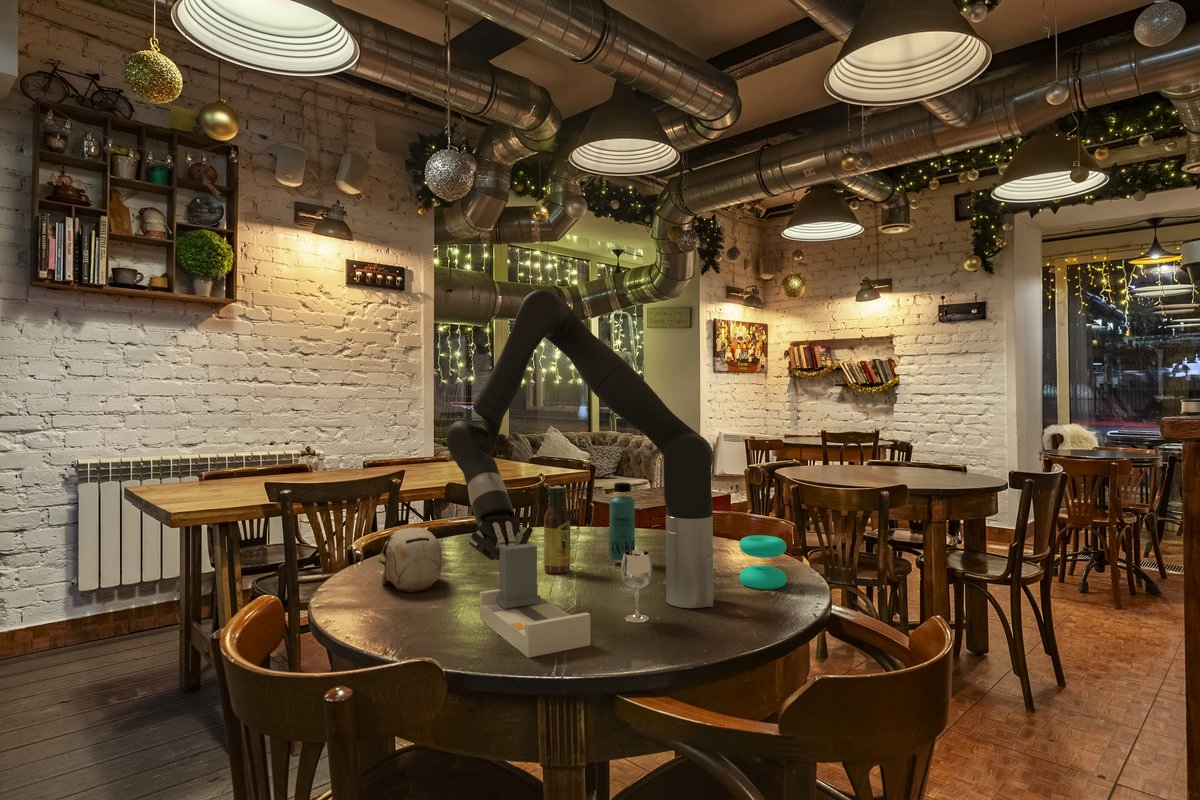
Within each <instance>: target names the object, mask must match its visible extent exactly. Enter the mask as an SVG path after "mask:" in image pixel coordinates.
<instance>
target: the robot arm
mask: <svg viewBox="0 0 1200 800" xmlns="http://www.w3.org/2000/svg"><path fill="white" fill-rule="evenodd" d="M569 305H570V304H568V303H567V302H566V300H565V299H564V298H563V297H561V296H559V295H557V294H555V293H553V292H551V291H549V290H546V289H536V290H533V291H532V292H530V293H528V294H527V295H526V296H525V297H524V298H523V300H522V302H521V304H520V307H519V309H518V311H517V314H516V317H515V319H514V321H513V324H512V327H511V330H510V333H509V334H508V337H507V339H506V341H505V344H504V345H503V348H502V351H501V353H500V355H499V357H498V359H497V361H496V363H495V364H494V367H493V368H492V370H491V372H490V374H489V376H488V377H487V379H486V381H485V382H484V384H483V386H482V388H481V390H480V391H479V393H478V394H477V397H476V398H475V400H474V402H473V404H472V409H473V411H474V413H476V415H478V416H480V417H481V418H482V420H481V423H480V425H478V424H475V423H473V422H469V421H467V420H466V421H465V420H458V421H455V422H453V423H452V424H451V425H450V426H449V428H448V429H447V432H446V438H445V441H446V447H447V450H448V451H449V454H450V456H451V457H452V458H453V461H454V462H455V463H456V465H457V467H458V468H459V469H460V470H461V472H462V473H463V477H464V480H465V483H466V487H467V492H468V498H469V504H470V506H471V508H472V512H473V516H474V519H475V522H476V525H477V529H476V532H472V534H471V536H470V539H469V541H468V543H469V545H470V546H471V547H473V548H474V549H475V550H477V551H478V552H479V553H480V554H482V555H483V556H484V557H486V558H487V559H489V560H490V561H495V560H497V561H499V562H500V547H503V546H512V545H516V543H515V542H516V540H515V539H516V537H517V534H519V535H518V537H519V539H520V542H519V544H518V545H520V544H528V541H529V539H530V537H531V535H532V533H533V531H534V529H533V528H532V527H530V526H527V528H526V527H524V526H522V525H521V523H520V521H519V520H518V519H517V518H516V516H515V515H516V514H515V511H514V508H513V505H512V501H511V499H510V496H509V493H508V490H507V486H506V485H505V483H504V481H503V478H502V476H501V474H500V471H499V468H498V464H497V463H496V461H495V458H493V456H491V454H492V453H493V451H494V450H495V448H496V445H497V442H498V438H499V433H500V430H501V428H502V424H503V420H504V417H505V415H506V414H507V412H508V410H509V409H510V407H511V406H512V403H513V402H514V400H515V399H516V396H517V394H518V393H519V390H520V388H521V386H522V383H523V379H524V376H525V373H526V370H527V367H528V363H529V362H530V359H531V357H532V356H533V354H534V352H535V351H536V349H537V347H538V346H539V345H540V343H541V342H542V341H543V340H544V338H545V339H546V340H547V341H549V342H550V343H551V344H553V346H555V347H556V348H557V349H558V350H560V351H561V352H562V353H563V354H564V355H565V356H566V358H568V359H569V361H571V363H572V364H573V366H574V368H575V369H576V371H577V373H578V374H579V376H580V377H581V379H582V380H583V381H584V383H585V384H586V386H587V387H588V388H589V390H590V391H591V392H592V393H593V394H594V395H595V396H596V397H597V398H598V399H599V400H600V401H601V402H602V403H603V404H604V405H605V406H606V407H607V408H608V409H610V410H611V411H612V413H614V414H616V415H617V416H618V417H619V418H621V419H622V420H624V421H625V422H626V423H628V424H629V425H631V426H632V427H634V428H635V429H636V430H638V431H639V432H641V433H642V434H643V435H644V436H645V437H646V438H648V440H649V441H650V442H651V443H652V444H653V446H655V447H656V448H657V449H658V450H659V452H660V453H661V454H662V455H663V464H662V465H663V471H662V472H663V499H664V505H665V570H666V571H665V576H666V577H665V579H666V580H665V581H666V583H665V584H666V585H665V587H666V588H665V593H666V598H665V600H666V603H667V604H669V605H671V606H673V607H677V608H682V609H683V608H685V609H700V608H706V607H707V608H713V607H714V599H715V598H714V544H713V543H714V540H713V539H714V536H713V534H714V533H713V532H714V530H713V525H714V524H713V523H714V521H713V520H714V519H713V518H714V515H713V513H714V512H713V511H714V504H713V503H714V502H713V495H712V465H713V462H714V451H713V449H712V446H711V445H710V443H709V442H708V440H707V439H706V438H705V437H703V436H702V435H700V434H699V433H698V432H696V431H695V430H694V429H693V428H691V427H690V426H689V425H688V424H686V422H684V421H683V420H682V419H680V418H679V417H678V416H677V415H675V413H673V412H672V411H671V409H669V408H668V406H667V405H666V404H665V403H664V402H663V400H662V399H661V398H660V396H659V395H658V394H657V393H656V392H655V391H654V390H653V388H651V386H650V385H649V384H648V383H647V382H646V381H645V380H644V378H643V377H641V376H640V374H639V373H638V372H637V371H636V370H635V369H634V368H632V367H631V366H630V364H628V362H626V361H625V360H624V359H623V358H622V357H620V355H619V354H617V352H615V351H614V350H613V349H612V348H611V347H610V346H608V345H607V344H606V343H604V342H603V341H602V340H601V339H599V338H598V337H597V336H596V335H594V333H592V332H591V330H589V329H588V327H587V326H586V325H585V324H584V323H583V321H582V320H581V319H580V318H579V317H578V316H577V314H576V313H575V311H574V310H573V309H572V308H571V307H570V306H569Z"/></svg>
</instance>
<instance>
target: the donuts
mask: <svg viewBox="0 0 1200 800" xmlns="http://www.w3.org/2000/svg"><path fill="white" fill-rule="evenodd" d="M738 546H739V548H740V550H741V552H742V553H744V554H745V555H747V556H749V557H754V558H762V559H771V558H777V557H780V556H782V555H783V554H784V553H785V552H786V550H787V543H786V541H785V540H783V539H782V538H780V537H777V536H771V535H763V534H762V535H758V534H757V535H748V536H745V537H742V538H741V539H740V541H739V544H738ZM739 581H740V582H741V583H742V584H743V585H744V586H746V587H749V588H752V589H758V590H776V589H779V588H782V587H784V586H785V585H786V583H787V581H788V578H787V574H786V573H785V572H784V571H783V570H781V569H779V568H778V567H775V566H771V565H763V564H762V565H761V564H760V565H757V564H756V565H750V566H747V567H744V569H742V570H741V571H740V573H739Z"/></svg>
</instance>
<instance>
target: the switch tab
mask: <svg viewBox="0 0 1200 800" xmlns="http://www.w3.org/2000/svg"><path fill="white" fill-rule="evenodd" d="M519 544H520V543H519ZM519 544H515V545H512V546H503V547H500V561H499V589H500V596H496V603H497V604H498V605H500V606H501V607H502V608H504V609H507V608H513V607H519V606H525V605H531V604H537V603H541V598H542V597H541V595H539V594H537V585H538V546H537V545H535V544H532V543H527V544H520V545H519Z"/></svg>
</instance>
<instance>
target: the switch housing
mask: <svg viewBox="0 0 1200 800" xmlns="http://www.w3.org/2000/svg"><path fill="white" fill-rule="evenodd" d="M538 589H539V588H538V584H537V594H538V592H539V591H538ZM538 595H539V594H538ZM496 596H500V588H498V589H491V590H484V591H480V592H479V619H481V621H482V622H483V623H484V622H485V623H486V624H485V623H484V624H485V625H487V626H488V627H489V628H490V629H492V630H493V631H494V632H495V633H496V634H498V635H499V636H501V638H503V640H505V641H506V642H507V643H509V644H511V646H513V647H514V648H515V649H517V650H518V651H519V652H520V653H521V654H523V655H524V656H526V657H527V659H528V658H534V657H538V656H539V657H540V656H543V655H549V654H554V653H558V652H563V651H567V650H572V649H573V650H574V649H578V648H583V647H588V646H591V614H590V613H588V612H582V613H581V612H580V613H576V614H570V613H568V612H567V611H565V610H563V609H562V608H559V607H558V606H555V605H554V604H552V603H551V602H549V601H548V600H546V599H544V598H542V597H541V603H537V604H531V605H525V606H519V607H513V608H507V609H504V608H502V607H501V606H500V605H498V604H497V603H496Z"/></svg>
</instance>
